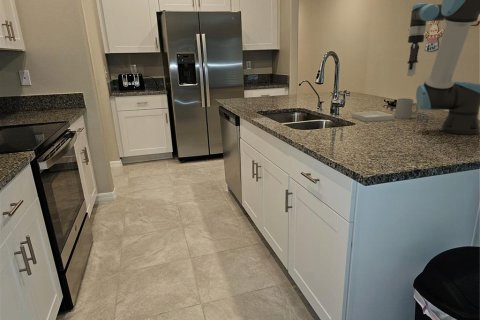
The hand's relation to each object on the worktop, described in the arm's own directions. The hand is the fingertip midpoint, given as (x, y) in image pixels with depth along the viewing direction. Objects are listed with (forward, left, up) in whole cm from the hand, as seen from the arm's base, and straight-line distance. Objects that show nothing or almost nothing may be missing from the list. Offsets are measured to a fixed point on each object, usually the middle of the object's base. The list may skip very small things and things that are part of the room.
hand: (411, 75), depth 178 cm
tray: (-10, +17, -25) cm, 31 cm away
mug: (0, 0, -25) cm, 25 cm away
